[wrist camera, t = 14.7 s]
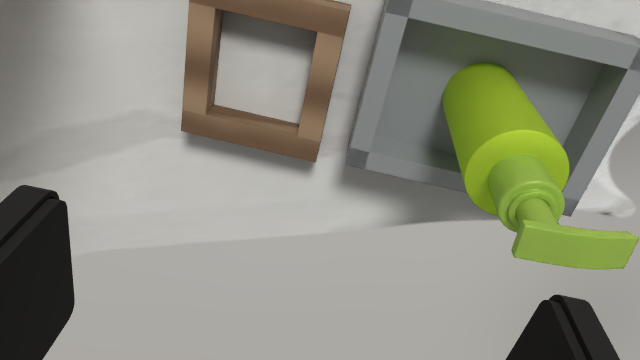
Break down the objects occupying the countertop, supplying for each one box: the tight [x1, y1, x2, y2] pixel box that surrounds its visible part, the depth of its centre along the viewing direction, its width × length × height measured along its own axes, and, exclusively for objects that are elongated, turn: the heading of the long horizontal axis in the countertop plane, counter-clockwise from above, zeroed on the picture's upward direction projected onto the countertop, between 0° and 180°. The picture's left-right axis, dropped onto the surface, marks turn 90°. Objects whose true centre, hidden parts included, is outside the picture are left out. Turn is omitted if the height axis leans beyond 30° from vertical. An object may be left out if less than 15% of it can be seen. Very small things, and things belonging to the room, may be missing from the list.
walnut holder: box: [181, 0, 351, 162], centre depth 41 cm, size 13×12×2 cm
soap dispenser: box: [443, 62, 639, 269], centre depth 32 cm, size 6×7×20 cm
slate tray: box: [346, 0, 640, 216], centre depth 40 cm, size 14×19×4 cm
